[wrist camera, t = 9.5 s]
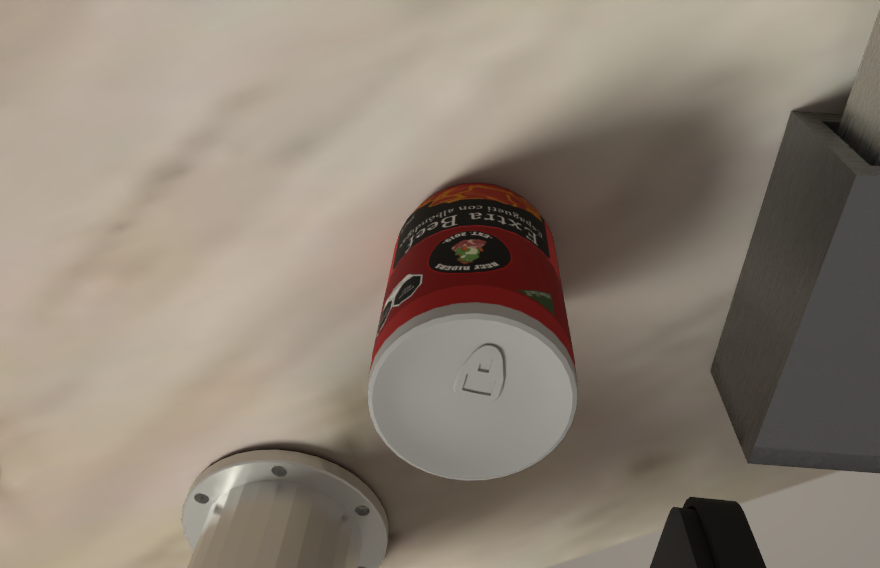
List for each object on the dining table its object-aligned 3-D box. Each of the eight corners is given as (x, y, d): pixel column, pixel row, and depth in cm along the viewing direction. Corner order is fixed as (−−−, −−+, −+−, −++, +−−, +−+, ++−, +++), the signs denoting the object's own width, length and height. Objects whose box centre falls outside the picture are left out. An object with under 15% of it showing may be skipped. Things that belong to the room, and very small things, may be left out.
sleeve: (833, 379, 39) (891, 474, 34) (710, 370, 40) (747, 463, 34) (943, 121, 32) (1040, 188, 26) (791, 111, 32) (856, 174, 26)
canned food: (557, 173, 34) (584, 310, 25) (552, 319, 38) (574, 483, 29) (387, 178, 35) (352, 314, 25) (401, 322, 39) (376, 484, 30)
